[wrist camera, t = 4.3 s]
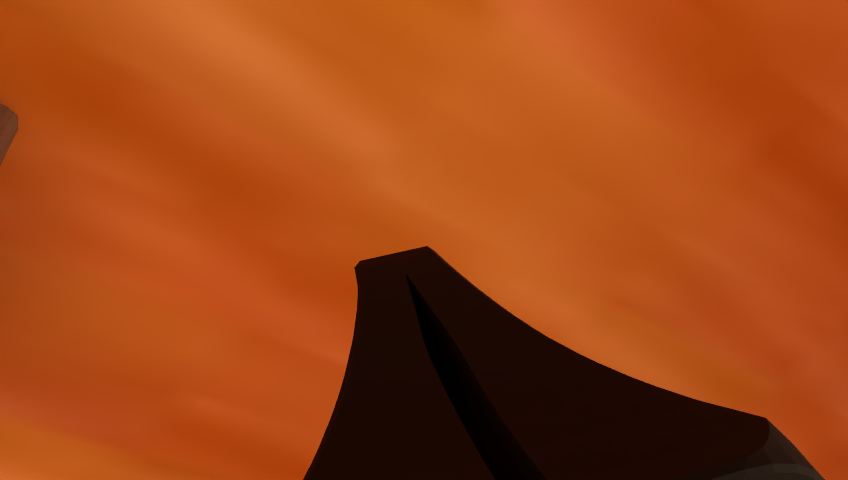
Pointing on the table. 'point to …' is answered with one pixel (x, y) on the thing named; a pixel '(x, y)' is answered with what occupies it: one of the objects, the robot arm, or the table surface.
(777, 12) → the table surface
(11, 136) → the wooden block
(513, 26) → the table surface
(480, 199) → the table surface
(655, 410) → the robot arm
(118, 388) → the table surface
